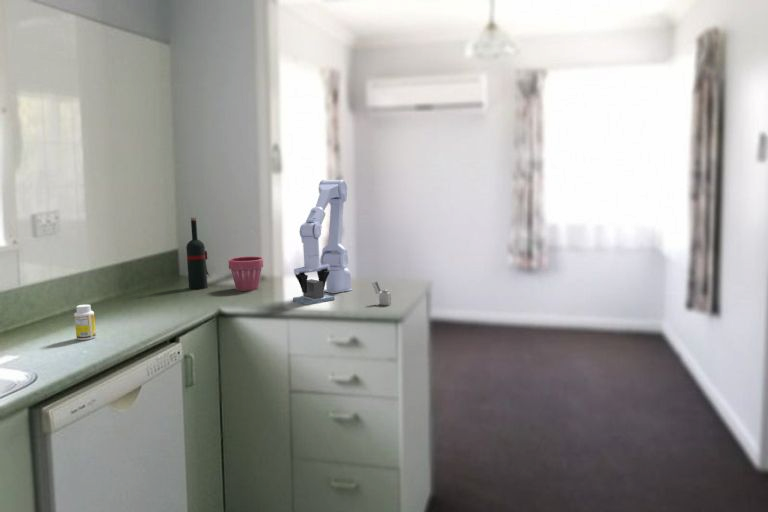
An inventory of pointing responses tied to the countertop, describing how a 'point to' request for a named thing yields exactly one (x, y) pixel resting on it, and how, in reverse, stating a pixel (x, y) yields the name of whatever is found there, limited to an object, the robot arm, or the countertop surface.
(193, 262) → the wine bottle
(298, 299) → the header board
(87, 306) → the supplement bottle
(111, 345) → the countertop surface
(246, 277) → the plant pot
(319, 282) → the block
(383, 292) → the lighter
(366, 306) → the countertop surface
